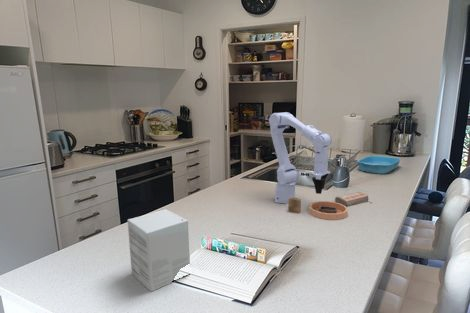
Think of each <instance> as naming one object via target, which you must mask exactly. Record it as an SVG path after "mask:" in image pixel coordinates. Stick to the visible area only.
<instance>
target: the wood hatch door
mask: <svg viewBox="0 0 470 313" xmlns="http://www.w3.org/2000/svg"><path fill="white" fill-rule="evenodd" d="M287 204H288V211H287V212H288V213H295V214H300V213H301V211H302V210H301V208H302V207H301V206H302V198H298V197H297V198H296V197H295V198H291V197H290V198H289V201H288V202H287Z"/></svg>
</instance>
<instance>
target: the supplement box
mask: <svg viewBox="0 0 470 313" xmlns="http://www.w3.org/2000/svg"><path fill="white" fill-rule="evenodd" d="M127 231H128V244H129V246H128V247H129V255H130V268H131V269H130V270H131V274H132V275H133V276H134V277H135V278H136V279H137V281H139V282H140V283H141V284H143V286H144V287H145V288H147V289H148V291H149V292H154V291H156V290H158V289H160V288H163V287H164V286H167V285H169V284H172V283H173V282H172V281H173V280H174V278H175V276H176V275H177V273H178V272H179V270H180V269H181V268H183V267H185V266H186V265H188V264H190V265H191V256H190V255H191V254H190V242H189V241H190V238H189V234H190V233H189V220H188V219H186V218H184V217H182V216H181V215H179V214H176V213H175V212H172V211H170V210H168V209H167V208H165V209H161V210H158V211H154V212H150V213H148V214H144V215H140V216H136V217H133V218H128V219H127ZM171 282H172V283H171Z"/></svg>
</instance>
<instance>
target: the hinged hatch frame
mask: <svg viewBox="0 0 470 313" xmlns="http://www.w3.org/2000/svg"><path fill="white" fill-rule="evenodd" d="M319 212H322V213H337V208H335V207H327V206H320V208H319Z"/></svg>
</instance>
